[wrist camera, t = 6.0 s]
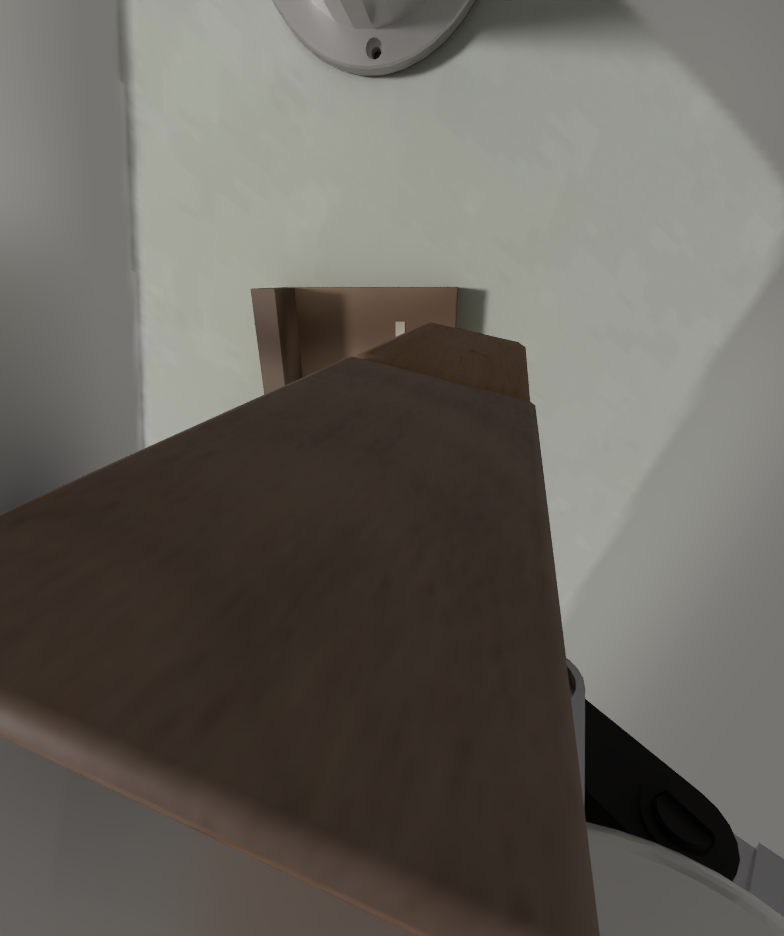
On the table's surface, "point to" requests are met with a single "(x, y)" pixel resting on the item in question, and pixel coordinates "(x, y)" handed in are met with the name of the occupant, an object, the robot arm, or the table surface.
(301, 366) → the marking board
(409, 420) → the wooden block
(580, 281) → the table surface
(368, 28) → the robot arm
